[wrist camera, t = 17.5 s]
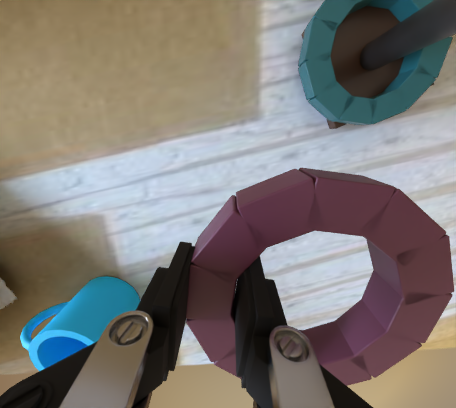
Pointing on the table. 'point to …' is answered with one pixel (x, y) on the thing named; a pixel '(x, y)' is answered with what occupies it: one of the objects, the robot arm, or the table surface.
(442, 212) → the table surface
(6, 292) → the plastic wrap
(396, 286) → the plum ring
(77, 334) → the mug
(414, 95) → the teal ring
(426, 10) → the peg stand
